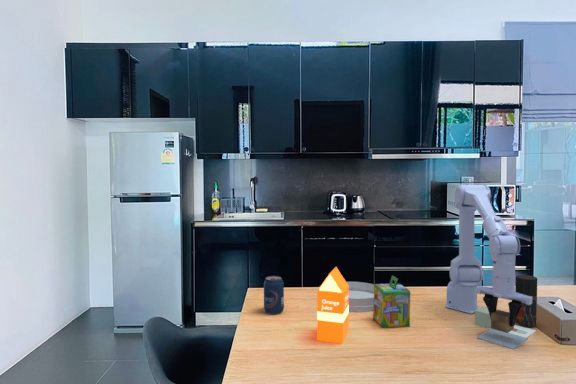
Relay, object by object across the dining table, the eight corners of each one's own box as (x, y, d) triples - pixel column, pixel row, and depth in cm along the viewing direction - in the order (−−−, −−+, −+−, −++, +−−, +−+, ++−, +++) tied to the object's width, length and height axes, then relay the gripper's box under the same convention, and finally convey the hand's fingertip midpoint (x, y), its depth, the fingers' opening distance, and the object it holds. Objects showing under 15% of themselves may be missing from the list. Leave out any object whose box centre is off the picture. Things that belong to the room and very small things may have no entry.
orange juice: (349, 332, 124) (349, 267, 123) (343, 343, 115) (343, 274, 114) (324, 329, 126) (323, 265, 125) (316, 340, 118) (316, 272, 117)
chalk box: (372, 317, 135) (372, 274, 135) (399, 316, 137) (399, 272, 136) (382, 328, 126) (382, 281, 125) (410, 327, 127) (411, 280, 127)
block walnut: (490, 328, 118) (491, 313, 118) (497, 324, 121) (497, 309, 121) (507, 333, 115) (507, 317, 114) (513, 328, 117) (514, 313, 117)
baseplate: (477, 338, 119) (477, 337, 118) (491, 329, 125) (491, 328, 125) (514, 349, 111) (514, 348, 111) (527, 339, 117) (527, 338, 117)
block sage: (475, 324, 129) (475, 310, 129) (481, 321, 132) (481, 307, 132) (489, 328, 126) (489, 314, 126) (495, 324, 129) (496, 311, 128)
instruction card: (499, 332, 123) (499, 331, 123) (511, 324, 129) (511, 323, 129) (525, 339, 118) (525, 338, 118) (536, 330, 123) (536, 330, 123)
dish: (393, 299, 155) (393, 286, 155) (372, 317, 137) (372, 302, 136) (340, 290, 167) (340, 278, 167) (314, 306, 148) (314, 292, 148)
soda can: (260, 313, 140) (260, 279, 139) (269, 307, 146) (268, 274, 146) (279, 316, 137) (278, 281, 137) (286, 309, 144) (286, 276, 143)
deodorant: (539, 328, 125) (540, 280, 125) (518, 326, 127) (519, 279, 126) (532, 321, 131) (532, 275, 131) (512, 320, 132) (512, 274, 132)
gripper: (472, 274, 120) (471, 319, 121) (526, 284, 109) (524, 334, 110) (482, 270, 125) (481, 314, 125) (535, 279, 114) (534, 327, 114)
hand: (502, 323), depth 118 cm, fingers closed on block walnut, 4 cm apart
